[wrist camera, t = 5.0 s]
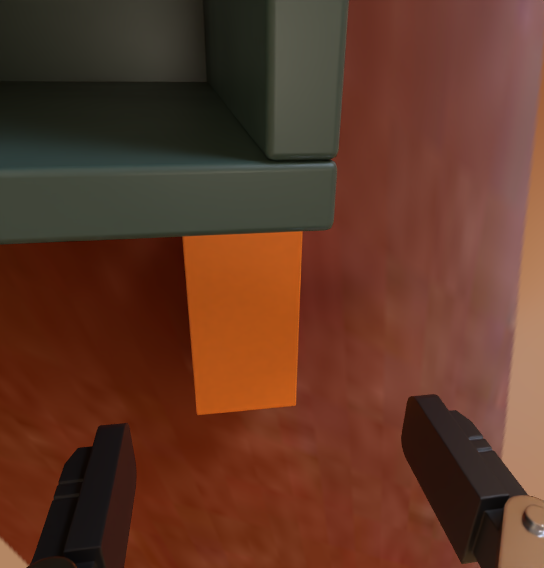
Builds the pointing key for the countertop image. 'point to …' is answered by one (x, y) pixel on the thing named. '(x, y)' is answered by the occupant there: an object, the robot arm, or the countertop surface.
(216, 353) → the orange rectangular block
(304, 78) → the dark green open box
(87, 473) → the robot arm
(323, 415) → the countertop surface
